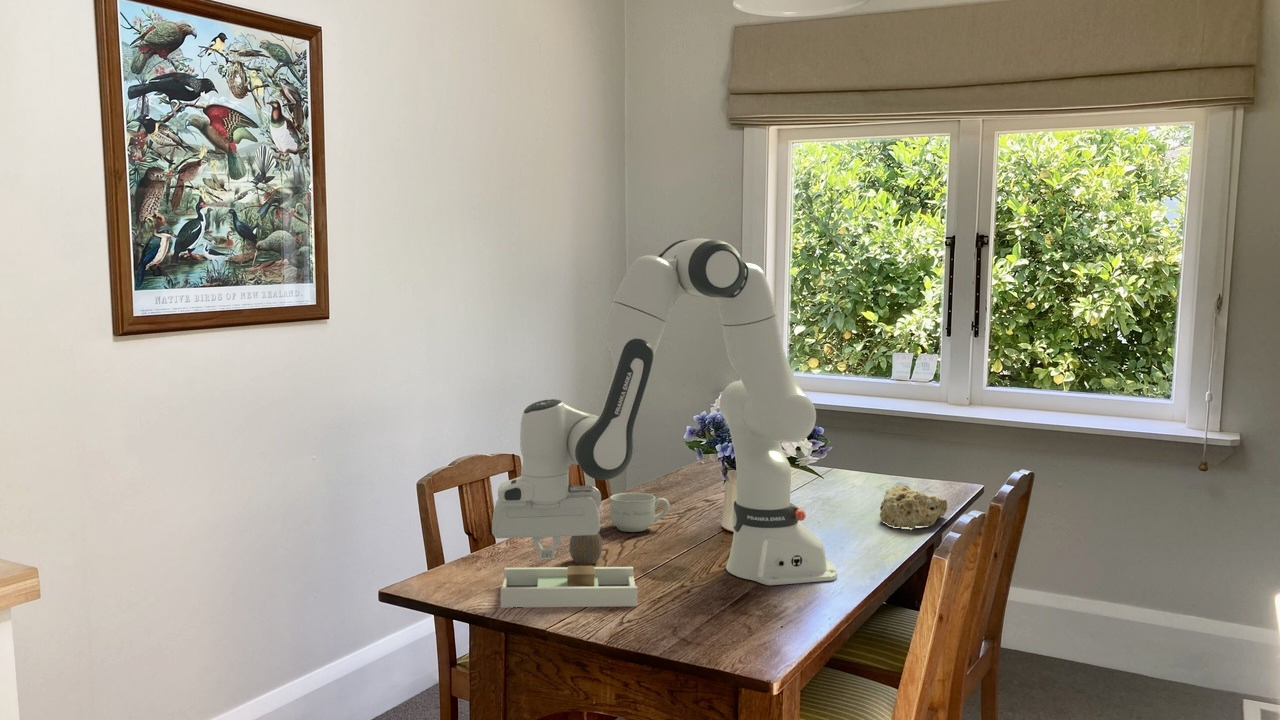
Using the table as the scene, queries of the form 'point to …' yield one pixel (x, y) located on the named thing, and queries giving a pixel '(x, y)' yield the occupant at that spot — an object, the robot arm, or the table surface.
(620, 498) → the teacup
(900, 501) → the rock
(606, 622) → the table surface
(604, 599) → the box
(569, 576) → the walnut block
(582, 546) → the vase
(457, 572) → the table surface
